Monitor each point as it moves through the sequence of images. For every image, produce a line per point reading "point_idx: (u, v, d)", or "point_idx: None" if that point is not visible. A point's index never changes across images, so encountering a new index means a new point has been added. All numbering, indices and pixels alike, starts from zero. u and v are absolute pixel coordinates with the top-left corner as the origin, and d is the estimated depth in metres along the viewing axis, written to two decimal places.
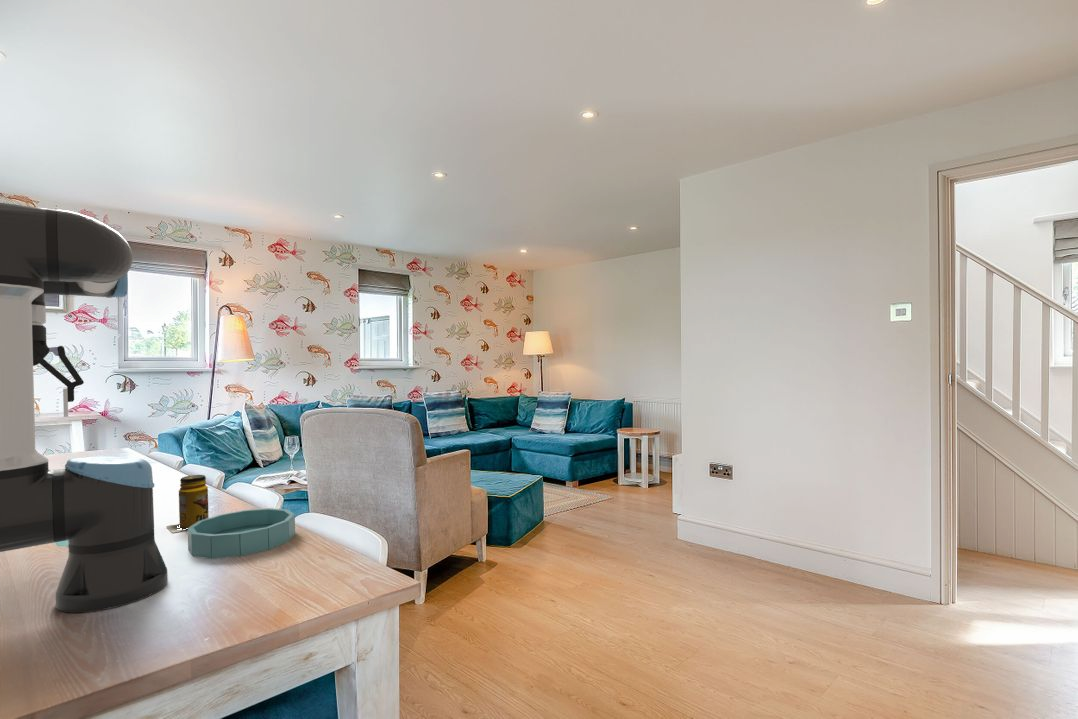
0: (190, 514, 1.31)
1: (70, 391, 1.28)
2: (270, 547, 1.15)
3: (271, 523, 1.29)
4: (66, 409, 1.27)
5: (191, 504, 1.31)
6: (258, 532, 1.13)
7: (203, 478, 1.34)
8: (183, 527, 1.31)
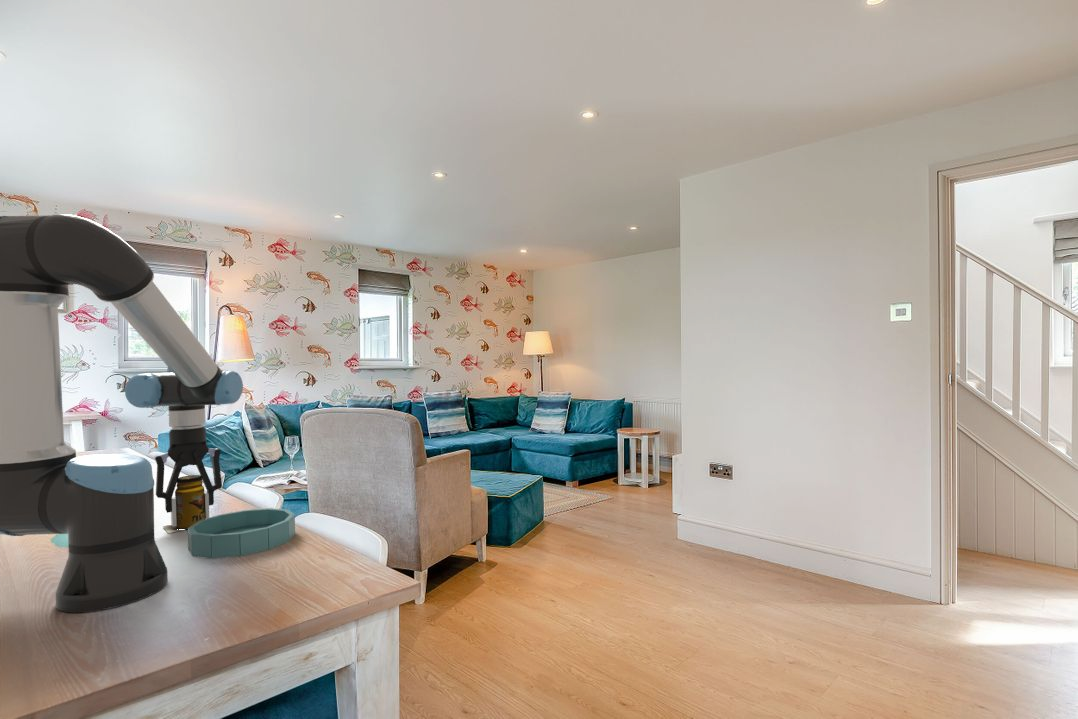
0: (185, 514, 1.31)
1: (211, 495, 1.36)
2: (270, 547, 1.15)
3: (271, 523, 1.29)
4: (208, 513, 1.35)
5: (187, 505, 1.31)
6: (258, 532, 1.13)
7: (199, 478, 1.33)
8: (179, 527, 1.31)
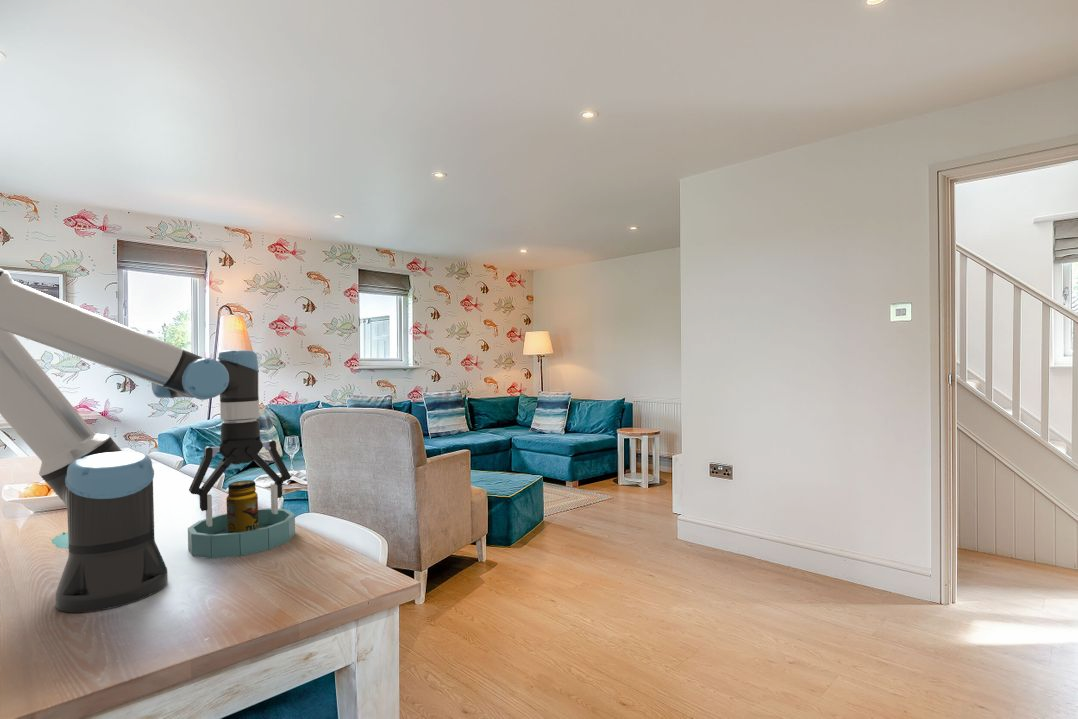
0: (239, 524, 1.17)
1: (279, 487, 1.24)
2: (270, 547, 1.15)
3: (271, 523, 1.29)
4: (276, 506, 1.23)
5: (240, 514, 1.17)
6: (258, 532, 1.13)
7: (253, 484, 1.20)
8: None
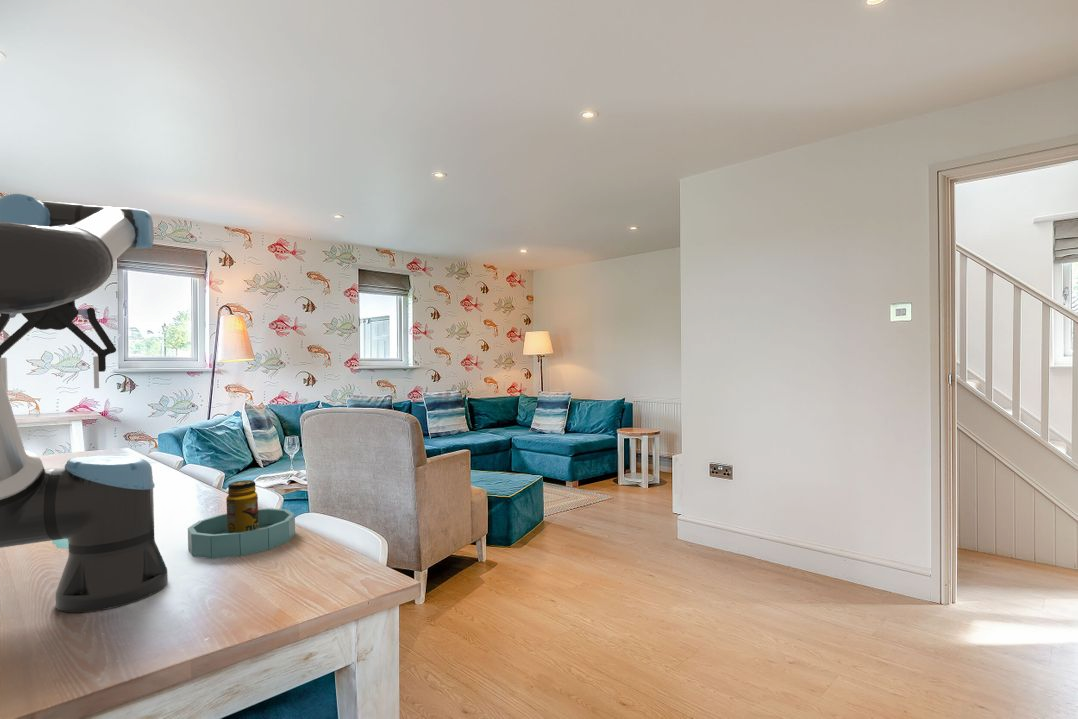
0: (239, 524, 1.17)
1: (102, 360, 1.13)
2: (270, 547, 1.15)
3: (271, 523, 1.29)
4: (97, 380, 1.11)
5: (240, 514, 1.17)
6: (258, 532, 1.13)
7: (253, 484, 1.20)
8: None
